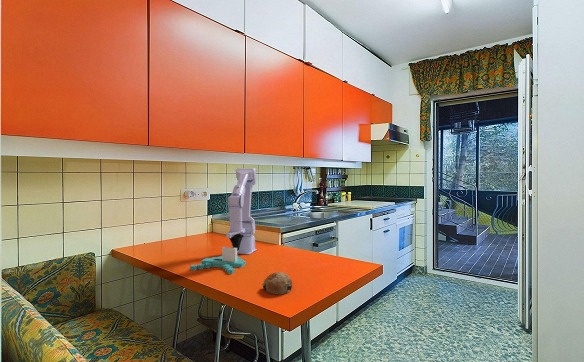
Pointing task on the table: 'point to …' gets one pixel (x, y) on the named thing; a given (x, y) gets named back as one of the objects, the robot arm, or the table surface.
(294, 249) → the table surface
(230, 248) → the tile
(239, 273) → the table surface
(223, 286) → the table surface
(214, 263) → the alien figure
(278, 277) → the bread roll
